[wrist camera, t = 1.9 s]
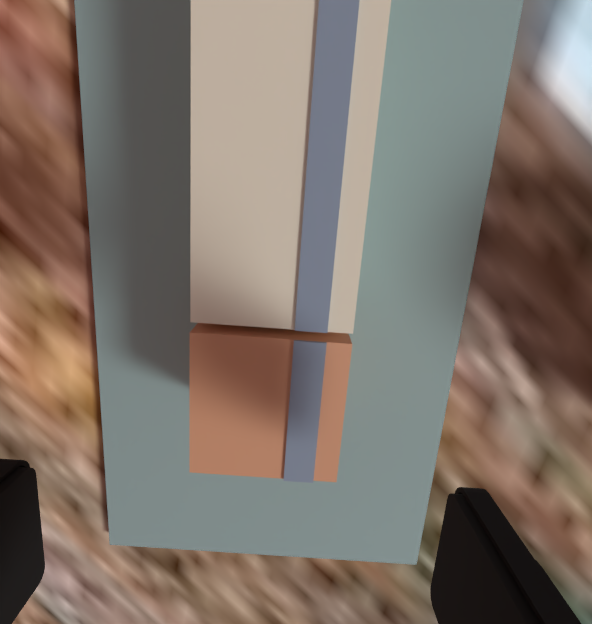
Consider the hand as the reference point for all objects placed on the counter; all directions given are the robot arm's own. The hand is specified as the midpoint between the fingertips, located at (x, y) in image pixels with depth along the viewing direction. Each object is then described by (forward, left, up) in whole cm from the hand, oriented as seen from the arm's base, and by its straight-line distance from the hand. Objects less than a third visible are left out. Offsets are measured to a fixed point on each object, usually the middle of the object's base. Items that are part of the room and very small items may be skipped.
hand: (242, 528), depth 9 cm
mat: (-2, 0, -10) cm, 10 cm away
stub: (-1, 0, -9) cm, 9 cm away
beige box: (-9, 0, -9) cm, 13 cm away
